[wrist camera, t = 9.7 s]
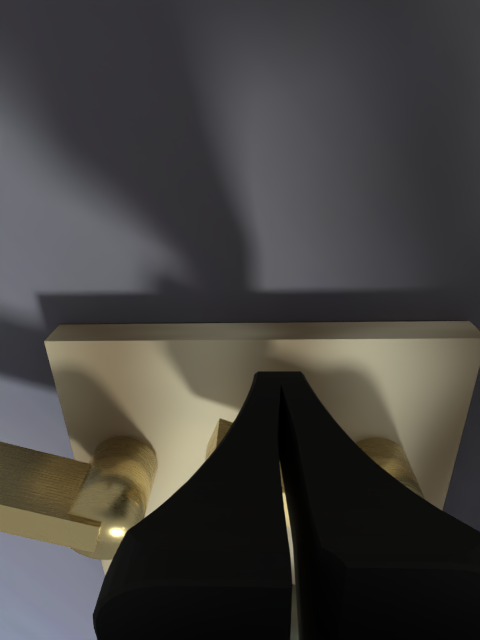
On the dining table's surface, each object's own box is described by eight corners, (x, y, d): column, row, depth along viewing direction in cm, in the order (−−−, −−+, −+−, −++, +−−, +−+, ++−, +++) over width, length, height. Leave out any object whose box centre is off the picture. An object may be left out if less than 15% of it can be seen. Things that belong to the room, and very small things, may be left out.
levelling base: (469, 321, 14) (555, 406, 10) (392, 652, 23) (421, 770, 19) (59, 324, 15) (-16, 406, 11) (136, 646, 24) (111, 758, 20)
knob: (-40, 394, 15) (-113, 464, 12) (164, 446, 15) (143, 523, 13) (-41, 445, 16) (-107, 520, 13) (151, 491, 16) (128, 572, 14)
